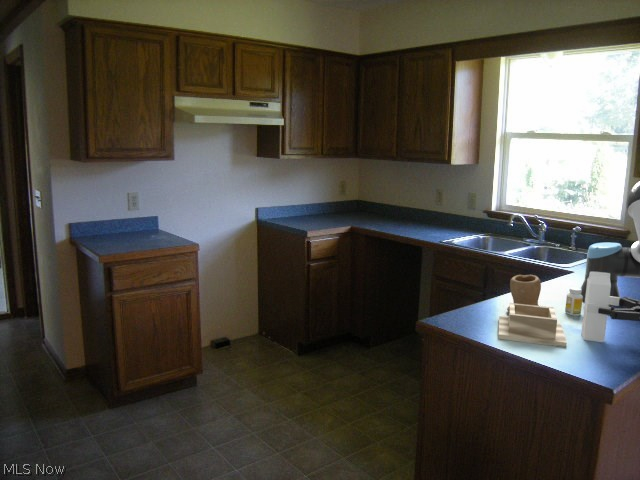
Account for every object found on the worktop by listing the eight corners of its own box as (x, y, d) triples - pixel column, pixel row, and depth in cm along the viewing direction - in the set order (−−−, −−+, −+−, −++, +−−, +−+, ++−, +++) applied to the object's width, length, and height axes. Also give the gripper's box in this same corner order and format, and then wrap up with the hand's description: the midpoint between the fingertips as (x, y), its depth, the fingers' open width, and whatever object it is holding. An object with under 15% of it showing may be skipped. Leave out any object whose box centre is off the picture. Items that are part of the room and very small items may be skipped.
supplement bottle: (563, 313, 201) (566, 288, 199) (566, 310, 205) (569, 285, 203) (579, 316, 197) (582, 291, 196) (582, 313, 202) (584, 288, 200)
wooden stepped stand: (498, 319, 192) (500, 299, 191) (560, 326, 186) (562, 305, 185) (498, 338, 174) (500, 316, 172) (566, 347, 168) (568, 324, 166)
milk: (581, 334, 180) (587, 269, 176) (601, 336, 178) (608, 270, 174) (583, 340, 174) (590, 273, 170) (604, 342, 172) (612, 275, 168)
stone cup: (502, 315, 197) (505, 275, 194) (511, 308, 207) (514, 269, 204) (545, 324, 189) (550, 282, 186) (553, 315, 198) (557, 276, 196)
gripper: (663, 340, 152) (581, 323, 165) (673, 318, 172) (599, 305, 185) (666, 314, 151) (584, 299, 164) (676, 295, 170) (602, 283, 183)
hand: (592, 302), depth 174 cm, fingers open, 13 cm apart
